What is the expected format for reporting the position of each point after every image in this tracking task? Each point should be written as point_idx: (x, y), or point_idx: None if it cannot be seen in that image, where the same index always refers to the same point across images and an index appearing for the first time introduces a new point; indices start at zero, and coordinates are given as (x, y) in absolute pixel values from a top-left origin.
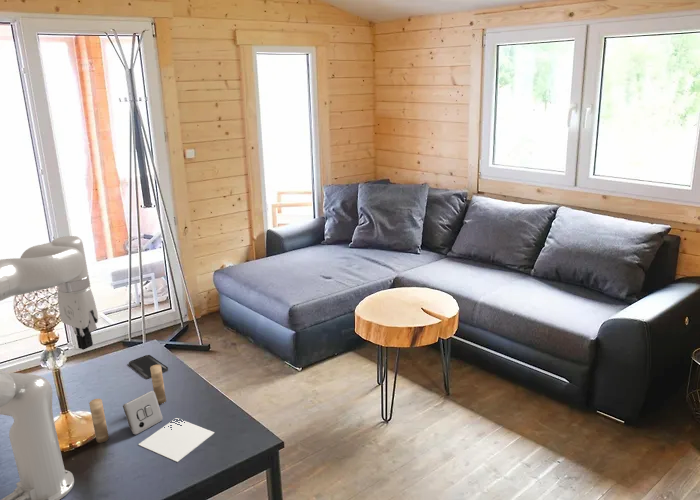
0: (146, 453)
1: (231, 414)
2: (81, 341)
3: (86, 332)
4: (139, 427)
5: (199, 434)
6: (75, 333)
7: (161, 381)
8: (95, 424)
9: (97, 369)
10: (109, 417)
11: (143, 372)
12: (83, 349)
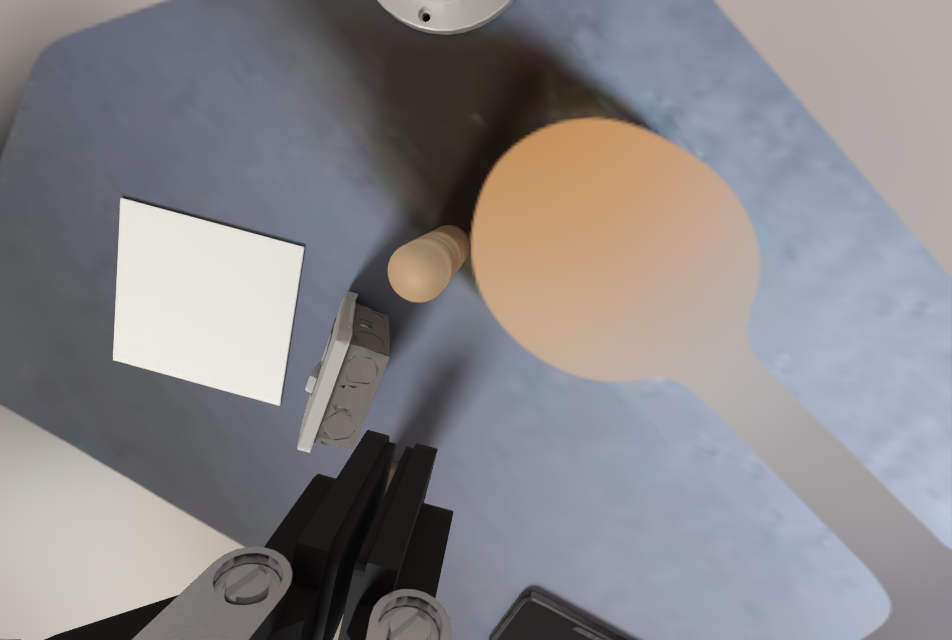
0: (247, 212)
1: (129, 454)
2: (329, 492)
3: (113, 620)
4: (337, 314)
5: (149, 340)
6: (434, 614)
7: None
8: (435, 231)
9: (765, 617)
10: (512, 363)
11: (563, 617)
12: (368, 435)
